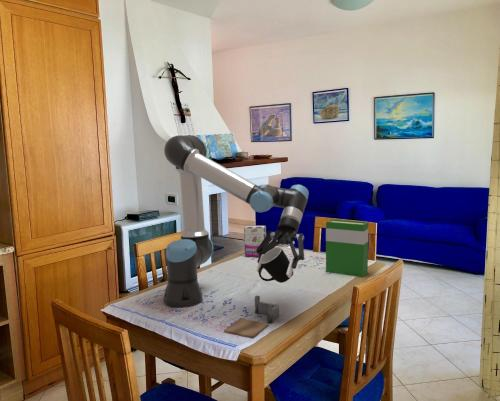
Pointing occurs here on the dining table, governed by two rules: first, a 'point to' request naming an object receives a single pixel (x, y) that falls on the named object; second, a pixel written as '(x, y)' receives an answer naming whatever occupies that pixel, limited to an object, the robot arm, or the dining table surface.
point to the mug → (275, 265)
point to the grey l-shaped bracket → (267, 309)
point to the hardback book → (347, 247)
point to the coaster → (246, 328)
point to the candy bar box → (253, 239)
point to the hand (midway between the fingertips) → (273, 274)
